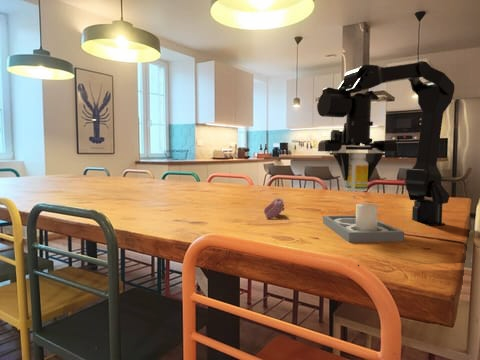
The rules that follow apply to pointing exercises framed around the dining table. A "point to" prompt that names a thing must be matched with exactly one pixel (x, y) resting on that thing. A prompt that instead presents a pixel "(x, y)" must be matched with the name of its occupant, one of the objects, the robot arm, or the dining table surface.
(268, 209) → the video game controller
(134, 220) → the dining table surface
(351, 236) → the tray
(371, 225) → the jaw peg
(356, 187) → the supplement bottle
